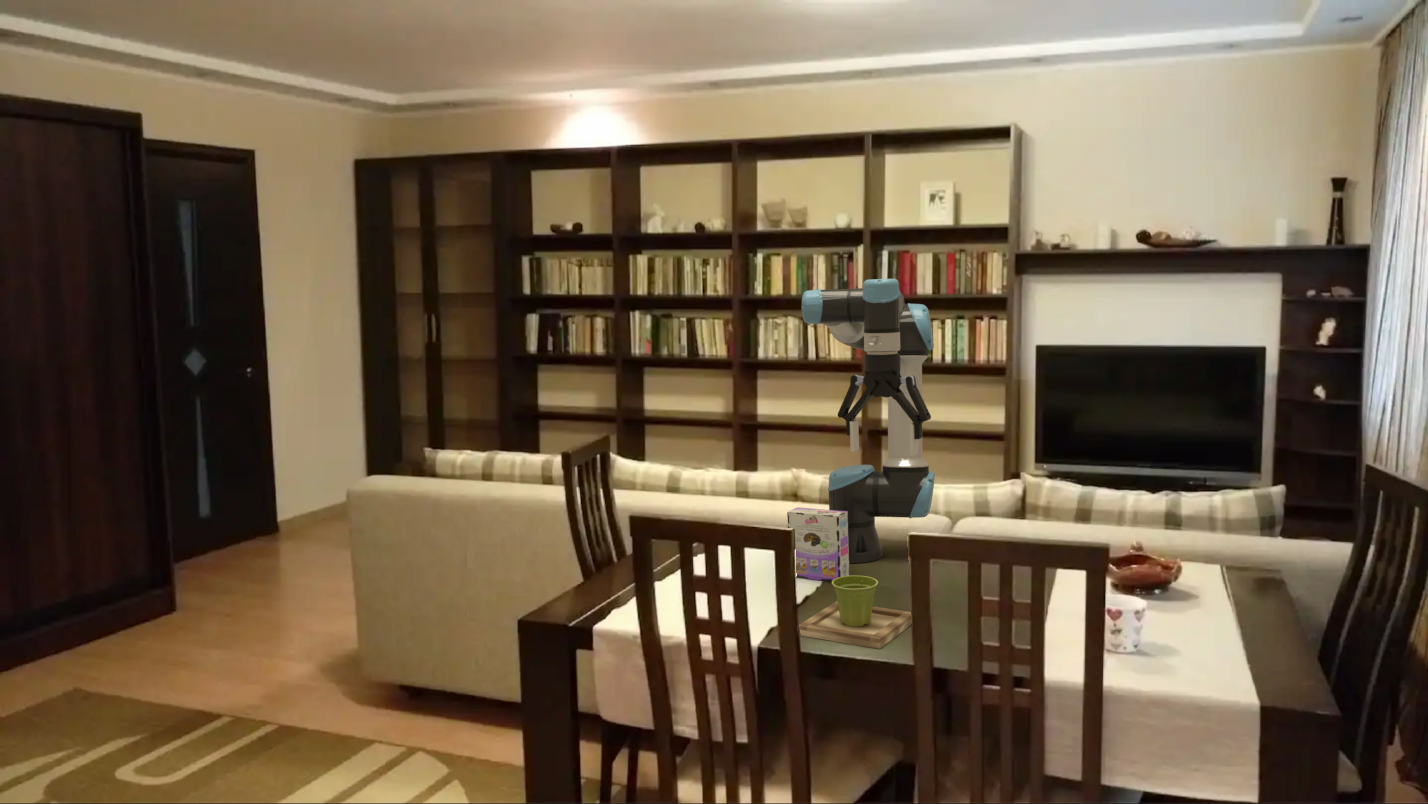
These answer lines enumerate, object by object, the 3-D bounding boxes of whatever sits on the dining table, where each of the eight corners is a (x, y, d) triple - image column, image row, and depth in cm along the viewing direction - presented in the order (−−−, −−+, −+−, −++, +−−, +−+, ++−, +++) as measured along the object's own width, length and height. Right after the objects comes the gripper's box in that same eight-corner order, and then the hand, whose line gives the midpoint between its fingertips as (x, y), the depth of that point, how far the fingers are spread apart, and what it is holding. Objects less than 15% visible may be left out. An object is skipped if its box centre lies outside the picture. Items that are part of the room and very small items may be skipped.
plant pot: (877, 630, 213) (876, 588, 212) (830, 629, 215) (829, 587, 214) (879, 615, 222) (879, 575, 221) (834, 614, 224) (833, 574, 223)
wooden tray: (837, 609, 231) (836, 601, 230) (914, 621, 221) (914, 612, 221) (797, 634, 215) (797, 625, 215) (879, 648, 206) (879, 638, 206)
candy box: (850, 577, 255) (849, 510, 253) (839, 583, 250) (838, 515, 248) (799, 570, 262) (797, 505, 260) (788, 576, 257) (786, 510, 255)
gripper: (820, 353, 225) (823, 451, 228) (932, 354, 212) (933, 458, 215) (836, 351, 232) (838, 446, 234) (945, 351, 218) (946, 453, 221)
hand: (884, 452), depth 224 cm, fingers open, 13 cm apart
